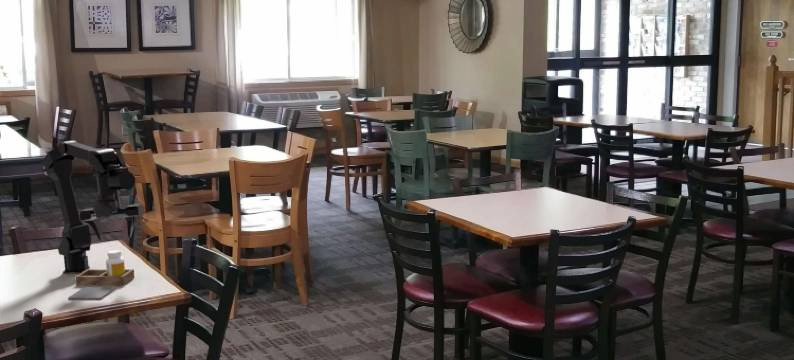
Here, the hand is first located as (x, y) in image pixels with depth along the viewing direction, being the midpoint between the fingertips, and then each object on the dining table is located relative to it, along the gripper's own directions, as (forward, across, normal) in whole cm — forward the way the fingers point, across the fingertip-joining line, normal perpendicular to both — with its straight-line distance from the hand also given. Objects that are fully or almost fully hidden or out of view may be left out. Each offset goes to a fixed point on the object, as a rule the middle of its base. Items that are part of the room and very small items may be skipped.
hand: (115, 239), depth 268 cm
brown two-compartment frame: (+13, -5, 0) cm, 14 cm away
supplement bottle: (+14, -2, 0) cm, 14 cm away
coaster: (+14, -4, -13) cm, 19 cm away
